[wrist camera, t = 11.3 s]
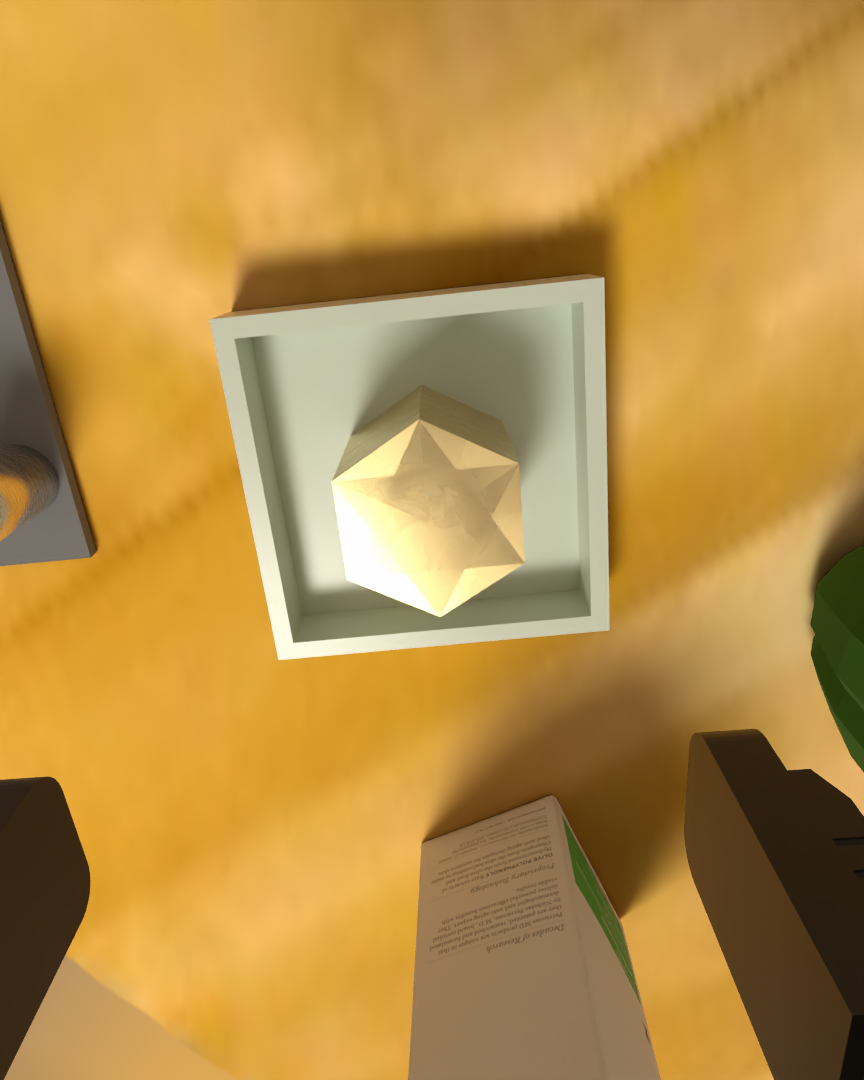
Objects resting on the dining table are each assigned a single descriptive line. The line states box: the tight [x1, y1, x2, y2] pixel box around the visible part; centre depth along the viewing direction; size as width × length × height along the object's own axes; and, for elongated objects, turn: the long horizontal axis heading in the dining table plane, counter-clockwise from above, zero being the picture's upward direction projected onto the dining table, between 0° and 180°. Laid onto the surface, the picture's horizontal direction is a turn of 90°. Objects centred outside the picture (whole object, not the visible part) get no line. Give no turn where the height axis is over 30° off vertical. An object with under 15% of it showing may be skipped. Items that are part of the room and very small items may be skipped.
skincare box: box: [408, 795, 661, 1080], centre depth 25 cm, size 8×7×16 cm
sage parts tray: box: [209, 274, 610, 660], centre depth 24 cm, size 11×11×2 cm
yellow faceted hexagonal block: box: [332, 385, 525, 617], centre depth 23 cm, size 6×5×5 cm
